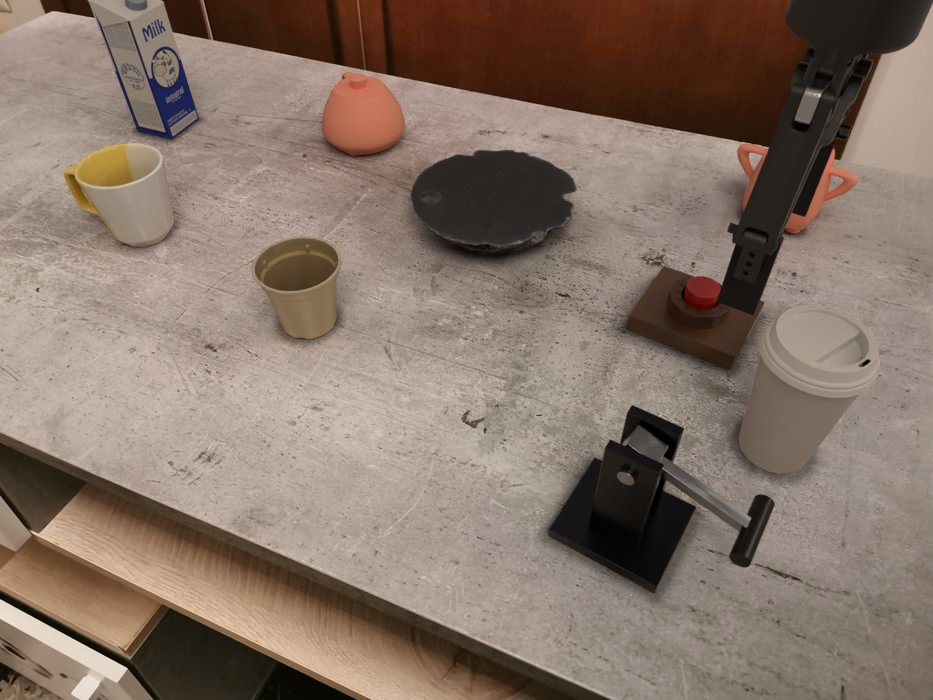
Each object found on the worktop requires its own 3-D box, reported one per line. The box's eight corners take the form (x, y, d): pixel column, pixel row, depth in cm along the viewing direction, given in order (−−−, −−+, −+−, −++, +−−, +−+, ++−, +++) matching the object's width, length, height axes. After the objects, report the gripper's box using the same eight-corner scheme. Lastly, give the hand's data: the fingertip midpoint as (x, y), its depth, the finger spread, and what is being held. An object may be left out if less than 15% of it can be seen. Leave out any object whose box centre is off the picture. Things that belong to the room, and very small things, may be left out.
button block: (759, 315, 83) (769, 289, 80) (730, 371, 77) (740, 344, 74) (660, 279, 87) (666, 253, 85) (625, 328, 82) (631, 302, 79)
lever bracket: (694, 513, 65) (729, 425, 56) (654, 594, 60) (686, 512, 51) (593, 464, 69) (610, 374, 60) (547, 535, 64) (559, 449, 55)
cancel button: (721, 295, 80) (725, 283, 79) (710, 314, 78) (714, 302, 77) (690, 283, 81) (693, 271, 80) (678, 302, 79) (681, 290, 78)
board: (378, 246, 93) (373, 213, 89) (457, 162, 106) (456, 130, 102) (536, 298, 85) (539, 264, 82) (600, 201, 99) (605, 168, 95)
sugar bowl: (337, 170, 105) (327, 104, 98) (313, 125, 114) (301, 62, 107) (417, 151, 108) (412, 86, 101) (387, 109, 117) (381, 46, 110)
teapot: (847, 242, 92) (878, 172, 84) (755, 250, 91) (779, 180, 84) (799, 180, 102) (823, 113, 94) (716, 186, 101) (735, 119, 94)
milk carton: (166, 110, 118) (122, -20, 103) (200, 118, 116) (160, -14, 102) (136, 131, 113) (86, -2, 99) (171, 140, 112) (124, 5, 97)
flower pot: (367, 310, 84) (358, 251, 78) (318, 362, 79) (304, 303, 73) (303, 284, 88) (289, 226, 81) (251, 333, 82) (232, 274, 76)
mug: (203, 223, 97) (180, 153, 89) (148, 267, 90) (117, 196, 83) (128, 197, 101) (99, 128, 94) (70, 237, 95) (34, 167, 87)
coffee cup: (750, 496, 66) (802, 389, 56) (705, 416, 73) (745, 306, 62) (845, 478, 68) (915, 369, 57) (793, 400, 74) (847, 290, 63)
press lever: (764, 512, 58) (782, 501, 56) (739, 572, 54) (757, 562, 52) (635, 422, 60) (648, 408, 58) (603, 474, 56) (616, 461, 54)
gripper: (855, -107, 49) (765, 164, 65) (735, 28, 35) (657, 333, 51) (977, -90, 47) (852, 189, 62) (901, 64, 32) (764, 376, 48)
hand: (764, 254), depth 56 cm, fingers open, 13 cm apart
